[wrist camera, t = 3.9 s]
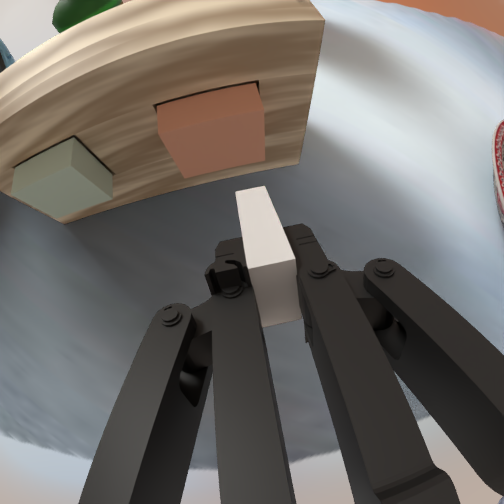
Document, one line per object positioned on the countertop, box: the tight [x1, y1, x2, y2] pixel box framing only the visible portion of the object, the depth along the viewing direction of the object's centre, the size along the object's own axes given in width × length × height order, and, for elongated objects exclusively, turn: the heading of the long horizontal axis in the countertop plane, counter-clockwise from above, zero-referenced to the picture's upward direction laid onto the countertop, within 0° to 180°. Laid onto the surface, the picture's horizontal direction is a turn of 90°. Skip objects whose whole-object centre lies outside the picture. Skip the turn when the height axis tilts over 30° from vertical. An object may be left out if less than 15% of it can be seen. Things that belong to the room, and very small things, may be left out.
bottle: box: [52, 0, 123, 33], centre depth 27 cm, size 11×11×28 cm
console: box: [0, 0, 325, 224], centre depth 26 cm, size 10×34×22 cm, turn 102°
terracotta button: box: [157, 83, 265, 178], centre depth 24 cm, size 3×8×8 cm, turn 102°
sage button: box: [11, 137, 113, 219], centre depth 24 cm, size 3×8×8 cm, turn 102°
